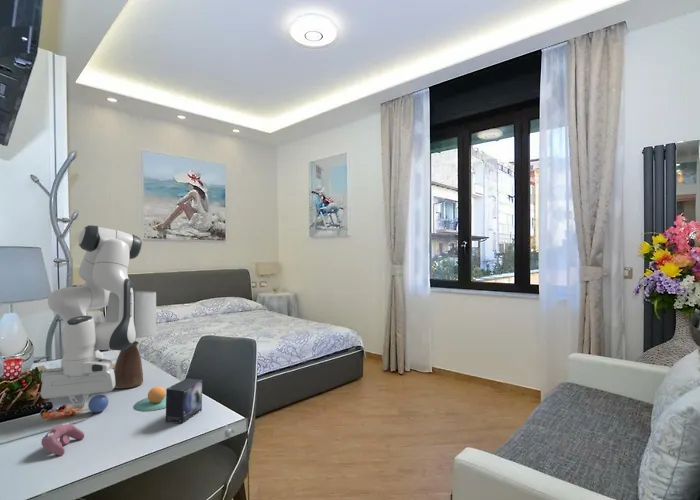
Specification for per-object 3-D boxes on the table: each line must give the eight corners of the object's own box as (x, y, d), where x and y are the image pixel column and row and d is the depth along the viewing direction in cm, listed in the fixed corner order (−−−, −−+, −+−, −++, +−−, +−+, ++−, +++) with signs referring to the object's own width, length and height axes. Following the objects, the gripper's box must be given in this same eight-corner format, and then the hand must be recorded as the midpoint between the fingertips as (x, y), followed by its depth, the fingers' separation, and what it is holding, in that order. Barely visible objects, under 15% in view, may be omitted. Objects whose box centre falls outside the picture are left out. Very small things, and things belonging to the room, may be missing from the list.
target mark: (131, 401, 133) (131, 400, 133) (174, 392, 141) (174, 392, 141) (135, 414, 121) (135, 414, 121) (181, 404, 129) (181, 404, 129)
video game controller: (71, 444, 106) (60, 422, 105) (87, 436, 106) (75, 414, 106) (47, 463, 96) (34, 440, 96) (64, 454, 96) (51, 431, 96)
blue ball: (105, 389, 124) (115, 400, 127) (92, 392, 126) (102, 404, 128) (93, 402, 119) (104, 414, 122) (80, 406, 121) (91, 417, 123)
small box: (183, 424, 114) (183, 390, 114) (164, 422, 116) (164, 388, 116) (203, 410, 125) (203, 379, 125) (186, 408, 126) (186, 377, 126)
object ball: (169, 396, 134) (154, 405, 133) (162, 382, 135) (147, 391, 133) (166, 398, 129) (150, 407, 127) (159, 384, 130) (142, 393, 128)
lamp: (87, 387, 143) (95, 292, 146) (131, 376, 161) (136, 290, 163) (122, 394, 137) (129, 293, 140) (163, 381, 154) (169, 292, 157)
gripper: (36, 372, 117) (36, 416, 117) (112, 365, 124) (111, 406, 124) (45, 366, 123) (45, 408, 122) (116, 360, 130) (116, 400, 129)
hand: (79, 407), depth 123 cm, fingers closed
